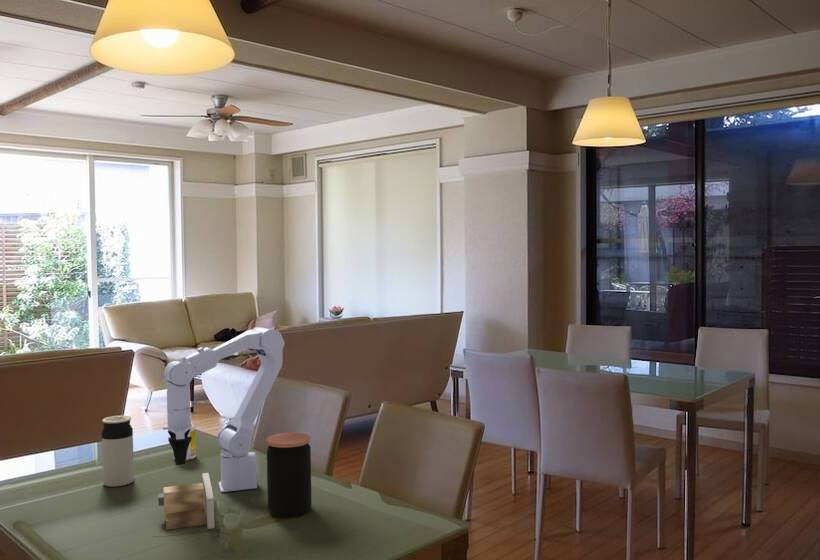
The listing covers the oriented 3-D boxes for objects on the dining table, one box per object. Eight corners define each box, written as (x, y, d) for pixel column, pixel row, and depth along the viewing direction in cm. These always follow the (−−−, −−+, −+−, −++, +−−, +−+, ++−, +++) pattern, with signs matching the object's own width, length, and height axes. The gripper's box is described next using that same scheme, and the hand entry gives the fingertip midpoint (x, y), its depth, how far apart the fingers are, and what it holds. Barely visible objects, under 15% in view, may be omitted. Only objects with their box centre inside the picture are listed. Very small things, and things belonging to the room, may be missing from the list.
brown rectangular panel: (203, 504, 181) (203, 496, 181) (207, 524, 168) (206, 515, 168) (165, 508, 178) (165, 500, 178) (166, 529, 165) (166, 520, 165)
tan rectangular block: (202, 502, 176) (202, 482, 176) (203, 509, 172) (203, 488, 172) (158, 508, 173) (158, 487, 173) (158, 514, 169) (158, 493, 168)
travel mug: (115, 489, 193) (113, 423, 192) (96, 484, 197) (94, 419, 196) (140, 481, 200) (138, 417, 199) (122, 476, 204) (120, 413, 203)
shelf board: (209, 499, 184) (208, 472, 184) (214, 528, 165) (213, 498, 165) (203, 500, 184) (202, 473, 183) (207, 528, 165) (207, 498, 164)
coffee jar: (319, 505, 179) (318, 434, 178) (299, 520, 169) (297, 445, 168) (281, 500, 183) (280, 431, 182) (259, 515, 173) (258, 441, 172)
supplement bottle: (193, 453, 226) (192, 413, 225) (198, 459, 220) (197, 417, 220) (171, 457, 222) (170, 416, 222) (176, 462, 217) (175, 420, 216)
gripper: (162, 403, 190) (163, 454, 191) (162, 415, 176) (164, 469, 177) (190, 401, 192) (191, 451, 193) (192, 413, 179) (193, 466, 179)
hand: (180, 460), depth 185 cm, fingers open, 7 cm apart
